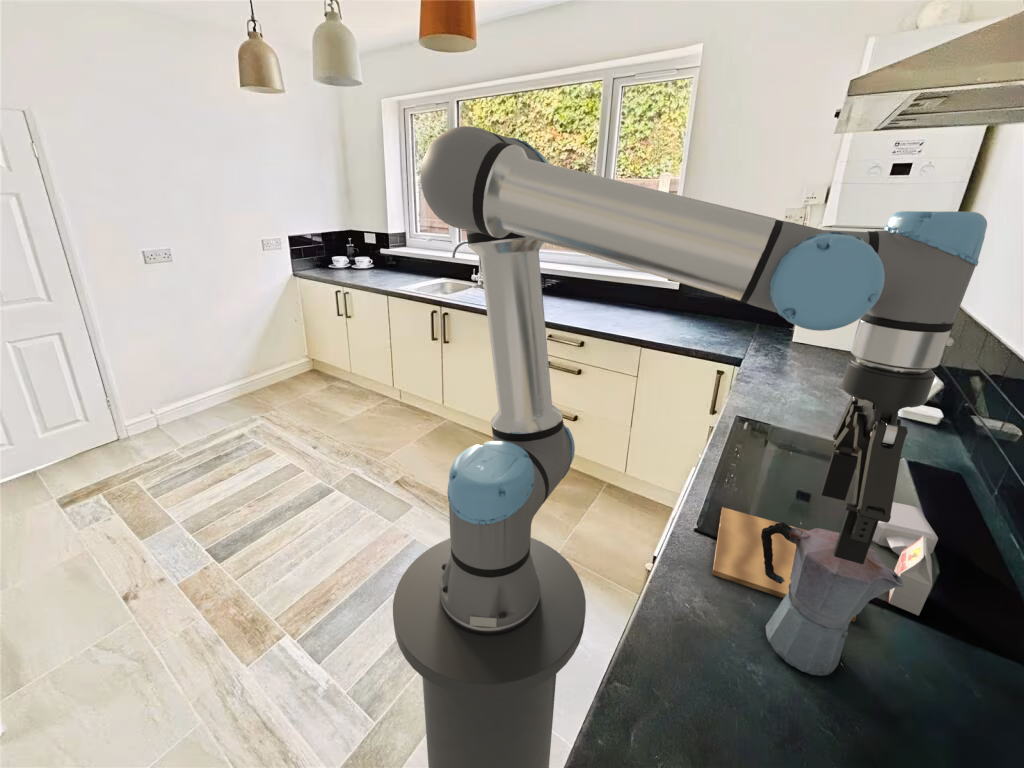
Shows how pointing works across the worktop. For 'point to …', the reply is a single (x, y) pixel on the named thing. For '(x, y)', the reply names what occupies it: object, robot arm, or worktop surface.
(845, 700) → the worktop surface
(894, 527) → the charger
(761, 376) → the worktop surface
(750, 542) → the trivet
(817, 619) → the moka pot
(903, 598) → the white printed carton
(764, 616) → the worktop surface
